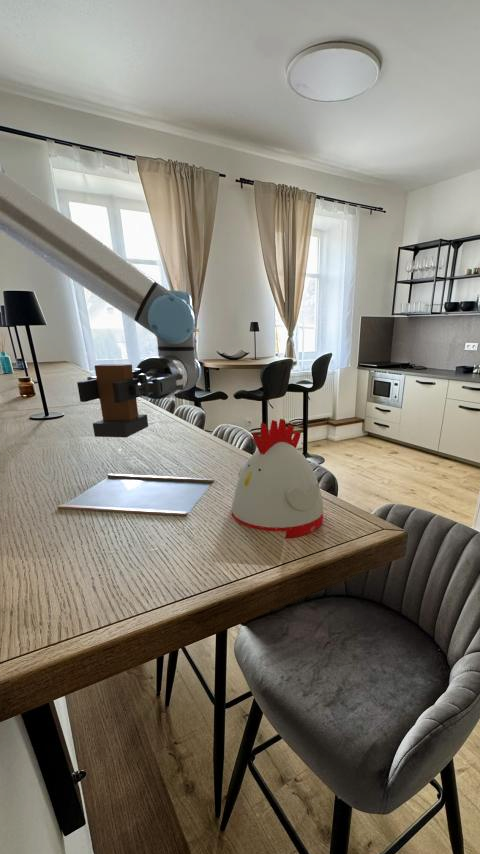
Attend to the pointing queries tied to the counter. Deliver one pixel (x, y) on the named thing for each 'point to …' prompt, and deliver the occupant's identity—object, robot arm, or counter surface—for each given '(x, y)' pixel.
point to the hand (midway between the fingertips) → (98, 392)
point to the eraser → (116, 404)
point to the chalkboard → (142, 495)
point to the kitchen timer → (278, 486)
